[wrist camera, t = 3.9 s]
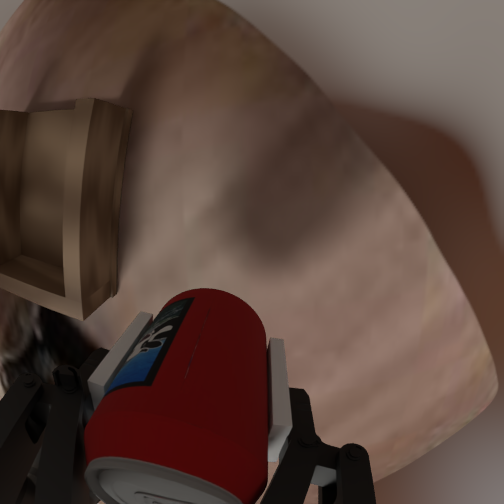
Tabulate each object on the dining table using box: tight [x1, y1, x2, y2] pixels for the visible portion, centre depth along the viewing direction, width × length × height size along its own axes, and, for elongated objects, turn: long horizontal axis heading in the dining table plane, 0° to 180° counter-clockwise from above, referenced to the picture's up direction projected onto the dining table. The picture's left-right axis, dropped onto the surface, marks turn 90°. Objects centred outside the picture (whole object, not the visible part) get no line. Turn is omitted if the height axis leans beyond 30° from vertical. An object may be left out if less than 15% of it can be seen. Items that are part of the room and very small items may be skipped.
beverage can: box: [84, 288, 268, 504], centre depth 12 cm, size 7×7×12 cm
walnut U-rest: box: [0, 98, 133, 321], centre depth 19 cm, size 15×13×5 cm
